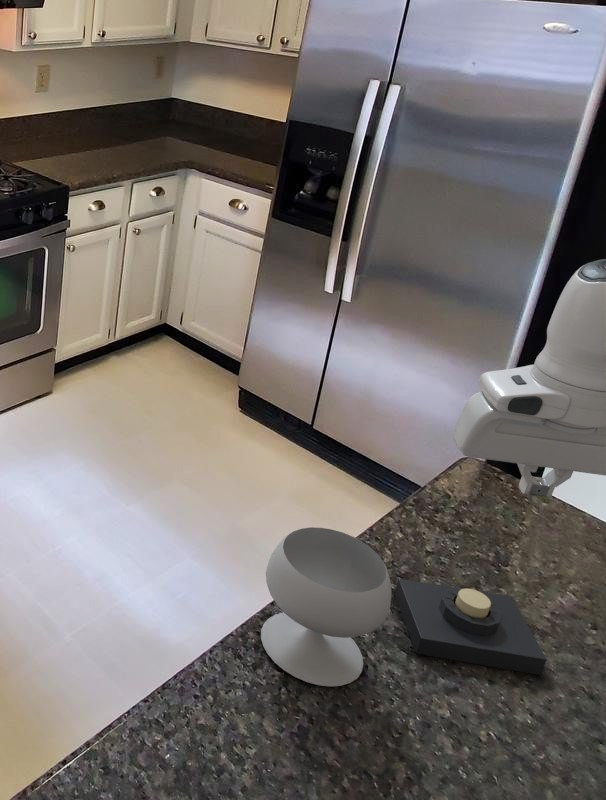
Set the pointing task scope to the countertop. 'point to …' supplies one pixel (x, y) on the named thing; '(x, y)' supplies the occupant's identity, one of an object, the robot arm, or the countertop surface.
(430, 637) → the push button plate
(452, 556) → the countertop surface
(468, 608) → the push button switch
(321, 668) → the chalice
